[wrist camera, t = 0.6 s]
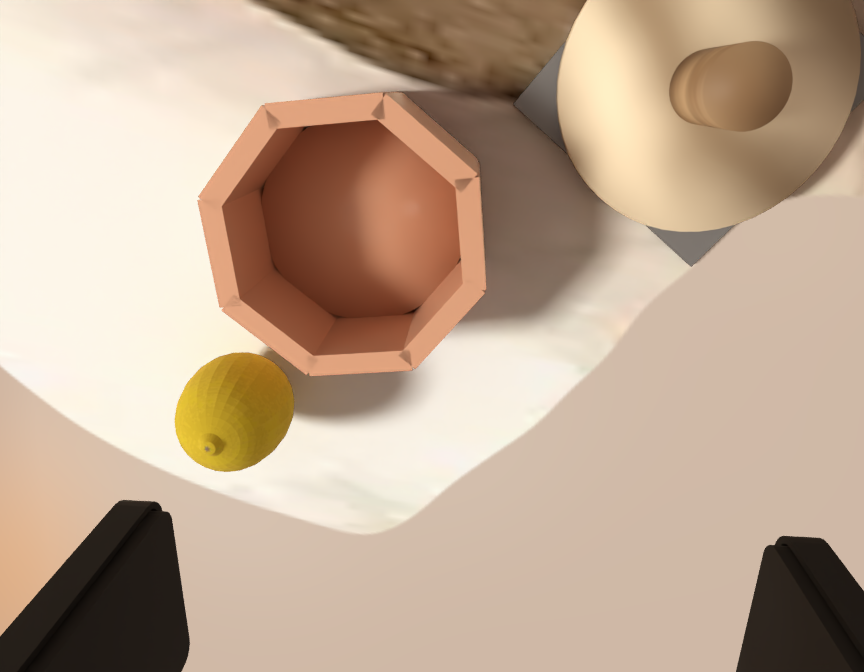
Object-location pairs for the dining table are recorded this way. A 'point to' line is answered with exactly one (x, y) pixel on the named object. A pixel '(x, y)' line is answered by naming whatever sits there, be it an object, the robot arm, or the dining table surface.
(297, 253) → the bowl
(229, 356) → the lemon
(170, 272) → the dining table surface
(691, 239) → the mat
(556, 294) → the dining table surface
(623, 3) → the lid
